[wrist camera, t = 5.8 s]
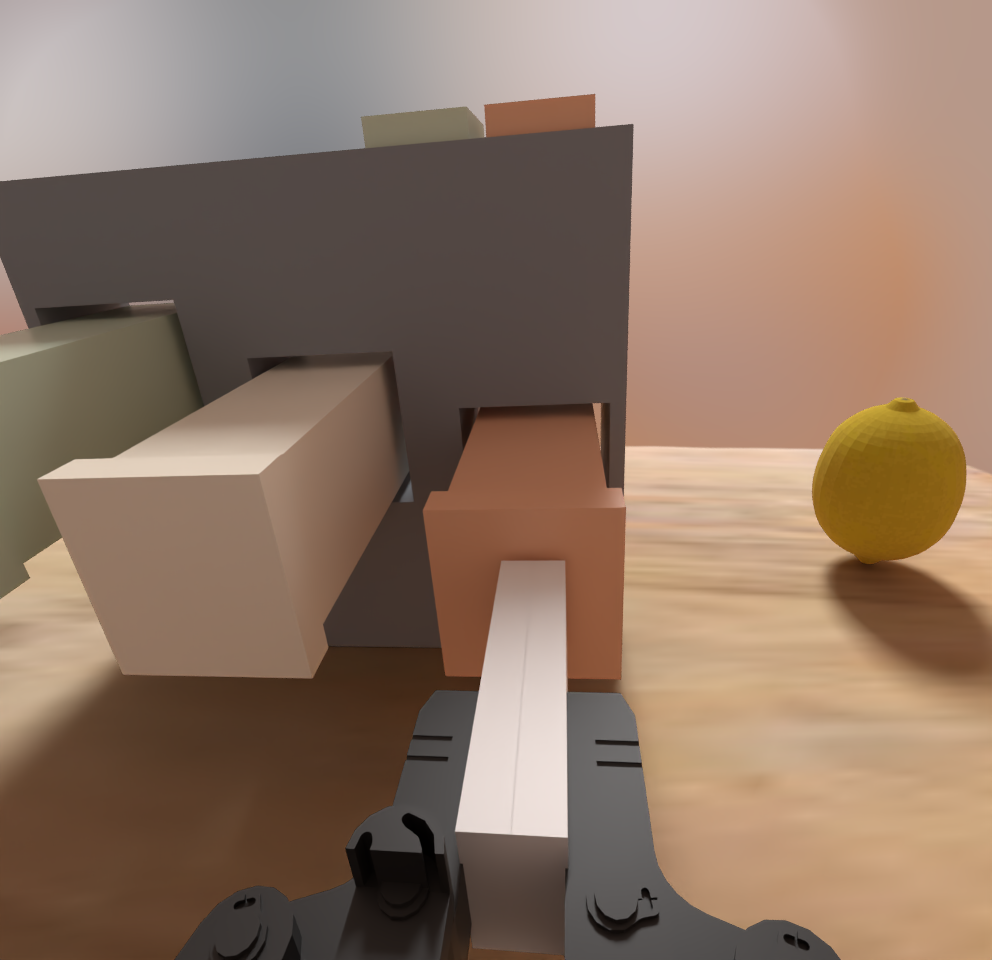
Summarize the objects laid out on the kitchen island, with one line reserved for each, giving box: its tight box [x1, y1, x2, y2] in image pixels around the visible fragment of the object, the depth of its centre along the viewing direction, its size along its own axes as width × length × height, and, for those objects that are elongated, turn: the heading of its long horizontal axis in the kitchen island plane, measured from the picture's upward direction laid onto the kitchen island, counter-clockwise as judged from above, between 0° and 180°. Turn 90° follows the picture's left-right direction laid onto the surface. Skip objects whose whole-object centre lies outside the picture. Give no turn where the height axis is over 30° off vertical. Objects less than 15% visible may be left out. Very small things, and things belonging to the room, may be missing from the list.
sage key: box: [0, 303, 204, 599], centre depth 18 cm, size 5×13×5 cm, turn 174°
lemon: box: [812, 398, 966, 564], centre depth 26 cm, size 6×6×8 cm
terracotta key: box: [423, 403, 626, 679], centre depth 20 cm, size 5×13×5 cm, turn 174°
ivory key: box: [37, 351, 409, 678], centre depth 18 cm, size 5×13×5 cm, turn 174°
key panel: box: [0, 94, 633, 648], centre depth 22 cm, size 20×4×19 cm, turn 84°
